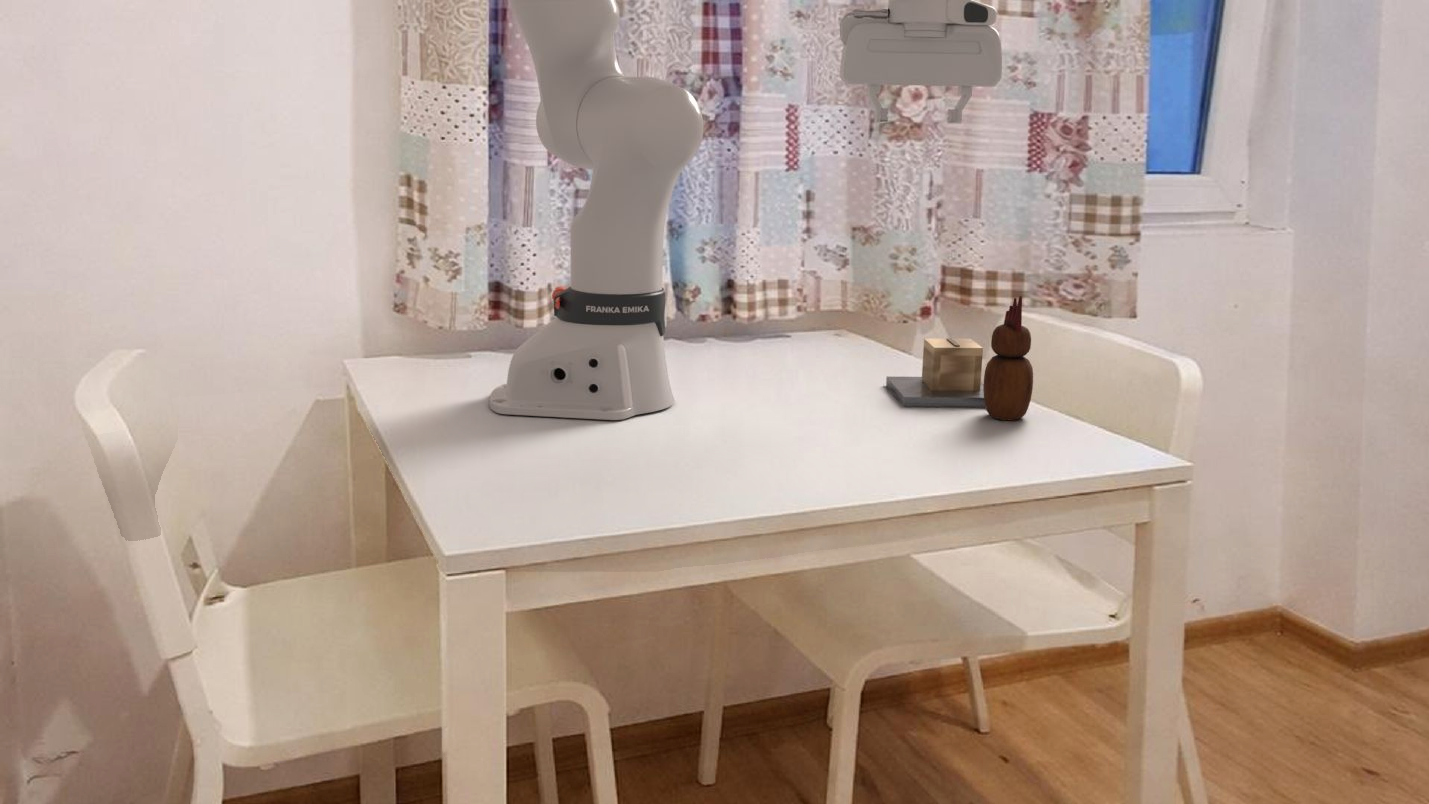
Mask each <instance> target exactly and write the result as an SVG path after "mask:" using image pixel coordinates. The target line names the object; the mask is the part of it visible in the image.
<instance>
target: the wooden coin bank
mask: <svg viewBox="0 0 1429 804" xmlns="http://www.w3.org/2000/svg"><path fill="white" fill-rule="evenodd" d="M983 351H984V347H983V346H981V345H980V344H978V343H977V342H976V341H974V340H973V339H972V338H951V337H947V338H923V351H922V352H923V353H922V366H921V367H922V369H921V377H922V380H923V382H924V383H925V384H926V385H927V386H928V387H929V388H930V389H931V390H972V391H980V385H981V382H982V368H983V367H982V366H983V354H984V352H983Z"/></svg>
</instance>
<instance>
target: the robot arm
mask: <svg viewBox="0 0 1429 804" xmlns="http://www.w3.org/2000/svg"><path fill="white" fill-rule="evenodd" d="M507 1H508V3H509V6H510V8H511V9H512V12H513V14H514V16H515V18H516V21H517V23H518V26H519V29H520V30H521V32H522V34H523V37H524V40H525V42H526V44H527V47H528V50H529V52H530V55H531V59H532V62H533V66H534V70H535V75H536V80H537V84H538V85H537V86H538V91H539V97H540V99H539V103H538V107H537V110H536V114H535V116H536V117H535V127H536V132H537V135H538V138H539V140H540V142H541V144H542V145H543V147H544V148H545V150H547V152H548V153H550V154H551V155H553V157H556V158H558V159H559V160H561V161H563V162H565V163H567V164H569V165H571V166H574V167H576V168H580V169H587V170H592V178H591V182H590V186H589V190H588V194H587V196H586V198H585V199H586V200H585V202H584V205H583V206H582V208H581V210H580V211H579V212H578V213H577V214H576V215H575V216H574V218H573V219H572V222H571V225H570V286H569V287H565V286H561V285H560V286H556V287H555V288H554V290H553V291H552V294H551V299H552V301H553V316H554V317H556V318H554V319H553V320H551V321H550V322H548V323H547V324H546V325H545V326H544V327H542V328H540V330H538V331H537V332H536V333H535V334H533V335H532V336H531V337H529V338H528V339H527V340H526V341H524V342H523V343H522V344H521V345H520V346H519V347H517V348H516V350H515V352H514V353H513V354H512V358H511V360H510V363H509V366H508V371H507V380H506V383H504V384H501V385H499V386H497V387H496V388H494V389H493V390H492V391H491V393H490V395H489V403H488V405H489V408H490V409H491V410H492V411H493V412H495V413H497V414H501V415H514V416H531V417H532V416H533V417H548V418H549V417H550V418H551V417H553V418H569V419H571V418H572V419H588V420H606V421H620V420H625V419H628V418H632V417H634V416H636V415H642V414H648V413H654V412H657V411H658V412H659V411H661V410H664V409H667V408H669V407H671V406H672V405H673V404H675V398H674V394H673V389H672V388H671V383H670V378H669V373H668V372H669V371H668V367H667V366H668V365H667V361H666V360H667V358H666V353H665V352H666V350H665V342H664V340H665V339H664V335H665V334H666V329H667V320H668V319H667V317H668V315H667V311H668V306H667V305H668V300H667V295H666V289H665V287H663V269H664V268H663V263H664V255H663V254H664V237H665V236H664V234H665V226H666V221H667V220H666V219H667V213H668V210H669V205H670V202H671V199H672V195H673V192H674V190H675V187H676V184H677V181H678V180H679V177H680V175H681V174H682V171H683V170H684V169H685V167H686V166H687V165H688V164H689V163H690V162H692V160H693V159H694V157H695V156H696V155H697V153H698V152H699V149H700V147H701V145H702V142H703V139H704V138H703V136H704V126H705V125H704V116H703V113H702V110H701V107H700V105H699V103H698V101H697V100H696V99H695V97H694V95H692V94H691V93H690V92H689V91H688V90H686V89H685V88H683V87H681V86H678V85H676V84H674V83H672V82H669V81H666V80H664V79H660V78H657V77H652V76H626V75H625V74H624V73H623V71H622V69H621V68H620V65H619V62H618V57H617V53H616V44H615V32H616V30H617V29H618V26H619V23H620V19H621V18H620V17H621V15H620V14H621V13H620V7H619V5H618V3H617V2H618V1H617V0H507ZM997 15H998V11H997V9H996V8H995V7H993V6H991V5H989V4H985V3H983V2H979V1H977V0H888V7H887V8H875V9H874V8H873V9H863V8H854V9H852V12H851V11H850V12H848V13H846V14H844V16H843V17H842V19H841V21H840V26H839V27H840V28H839V29H840V30H839V36H840V41H841V43H842V44H843V46H842V52H841V53H842V54H841V59H840V67H839V78H840V79H841V81H842V82H843V83H844V84H845V85H862V86H863V85H864V86H865V85H866V96H867V97H868V99H869V101H870V103H871V105H872V107H873V109H874V122H875V123H888V121H889V116H888V115H889V107H883V106H882V105H881V103H880V100H879V98H878V97H877V95H881V89H882V88H881V86H885V85H886V86H923V87H925V86H926V87H928V86H929V87H932V86H934V87H957V96H961V97H960V98H959V100H958V101H957V103H956V105H955V106H954V108H953V109H952V108H949V109H947V118H946V122H947V124H958V125H959V124H962V117H963V110H964V109H965V107H966V106H967V104H968V102H969V101H970V99H971V97H972V96H973V88H975V87H976V88H977V87H978V88H994V87H996V86H997V85H998V84H999V83H1000V81H1001V79H1002V75H1003V56H1002V55H1003V54H1002V53H1003V52H1002V43H1001V37H1000V35H999V34H1000V33H999V32H998V31H997V29H996V28H994V27H992V25H995V23H996V21H997ZM851 16H852V17H851Z"/></svg>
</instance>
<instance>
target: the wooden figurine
mask: <svg viewBox="0 0 1429 804" xmlns="http://www.w3.org/2000/svg"><path fill="white" fill-rule="evenodd" d="M1022 311H1023V296H1022V295H1020V296H1019V297H1018V301H1017V297H1014V298H1013V302H1012V305H1009V309H1008V310H1006V312H1005V317H1004V321H1003V324H1000V325H998V326H996V327H995V329H993V332H992V335H991V340H990V341H991V342H990V346H991V347H990V348H991V350H992V351H993V352H994V353H995V354H996V355H994V356H992V357H991V358H990V359H989V360H988V362H987V363H986V367H985V369H984V376H983V384H984V386H983V390H984V400H985V406H986V407H985V409H986V410H985V411H986V412H987V413H988V415H989V416H990V417H992V418H995V419H998V420H1002V421H1015V420H1019V419H1021V418H1023V417H1024V416H1025V415H1026V414H1027V412H1028V410H1029V406H1030V403H1031V399H1032V394H1033V390H1034V370H1033V366H1032V363H1031V362H1030V360H1029V359H1028V358H1026V355H1027V354H1028V353H1029V352H1030V350H1031V347H1032V346H1031V345H1032V336H1031V332H1030V330H1029V328H1028V327H1026V326H1023V325H1022V320H1023V319H1022V313H1023V312H1022Z"/></svg>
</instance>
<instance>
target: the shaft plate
mask: <svg viewBox="0 0 1429 804" xmlns="http://www.w3.org/2000/svg"><path fill="white" fill-rule="evenodd" d="M885 379H886V381H885V384H886V387H887V388H888V390H890V392H891V393H892V394H893V396H894V397H895V398H896V399H897V401H898V402H899V403H900V404H901V406H903V408H904V407H908V408H909V407H915V408H916V407H918V408H919V407H923V408H927V407H930V408H931V407H932V408H935V407H937V408H938V407H939V408H941V407H942V408H986V406H985V400H984V390H983V386H984V382H982V381H981V385H980V391H972V390H931V389H930V388H929V387H928V386H927V385H926V384H925V383H924V382H923V380H922V376H886V378H885Z"/></svg>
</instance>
